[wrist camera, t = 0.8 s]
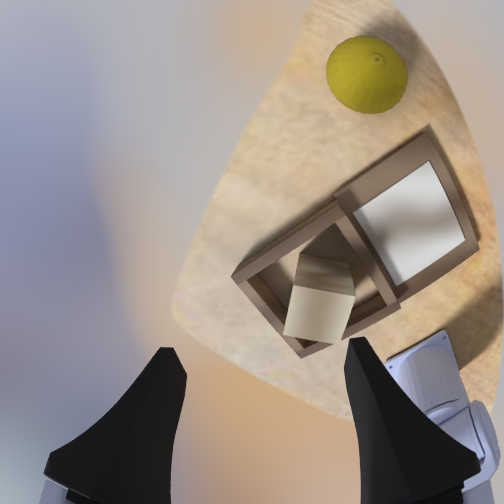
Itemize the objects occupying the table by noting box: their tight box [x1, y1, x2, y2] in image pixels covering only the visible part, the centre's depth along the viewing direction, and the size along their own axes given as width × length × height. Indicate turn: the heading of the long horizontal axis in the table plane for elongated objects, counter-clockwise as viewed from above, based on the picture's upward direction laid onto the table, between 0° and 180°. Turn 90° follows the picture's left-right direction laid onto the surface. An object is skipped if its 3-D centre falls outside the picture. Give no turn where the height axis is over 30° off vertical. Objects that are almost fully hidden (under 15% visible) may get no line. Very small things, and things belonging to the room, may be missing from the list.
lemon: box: [326, 36, 407, 114], centre depth 14 cm, size 6×6×8 cm
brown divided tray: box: [231, 132, 480, 358], centre depth 22 cm, size 12×21×2 cm, turn 129°
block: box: [283, 253, 356, 345], centre depth 23 cm, size 5×5×6 cm
